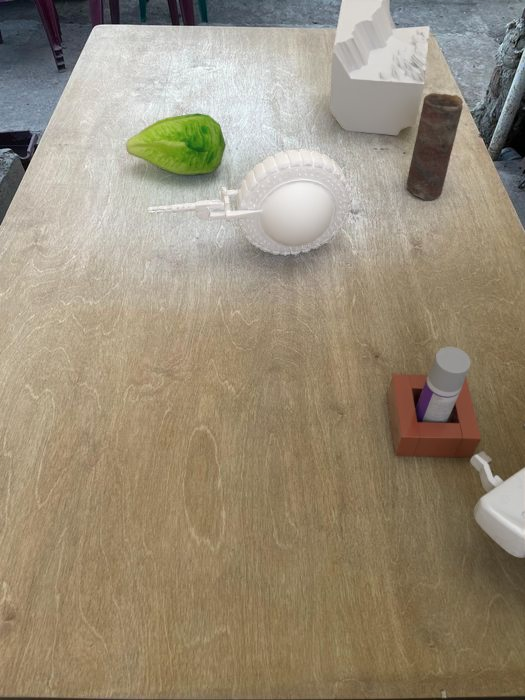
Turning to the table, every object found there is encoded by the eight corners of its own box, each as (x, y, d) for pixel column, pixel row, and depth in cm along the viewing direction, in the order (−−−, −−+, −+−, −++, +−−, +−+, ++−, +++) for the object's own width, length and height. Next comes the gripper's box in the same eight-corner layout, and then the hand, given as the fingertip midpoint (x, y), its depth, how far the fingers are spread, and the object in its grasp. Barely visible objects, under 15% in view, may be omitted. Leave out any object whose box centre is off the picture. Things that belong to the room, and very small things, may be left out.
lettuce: (135, 151, 136) (127, 99, 127) (227, 152, 137) (225, 100, 128) (127, 189, 127) (117, 136, 118) (225, 189, 128) (223, 137, 119)
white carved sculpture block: (420, 93, 150) (442, 1, 127) (414, 146, 144) (437, 61, 121) (336, 85, 152) (342, -6, 129) (327, 138, 147) (332, 52, 123)
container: (412, 408, 93) (435, 343, 82) (444, 414, 93) (471, 349, 81) (410, 434, 90) (434, 370, 79) (443, 440, 90) (471, 376, 78)
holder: (457, 395, 95) (466, 375, 91) (471, 457, 88) (481, 438, 84) (386, 394, 95) (392, 374, 91) (395, 456, 88) (401, 437, 84)
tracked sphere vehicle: (158, 290, 109) (143, 195, 93) (153, 237, 118) (139, 142, 103) (352, 269, 113) (368, 175, 98) (333, 220, 122) (345, 126, 107)
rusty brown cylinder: (398, 192, 128) (418, 99, 113) (413, 175, 132) (435, 84, 117) (432, 205, 126) (457, 112, 110) (447, 188, 130) (473, 96, 114)
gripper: (663, 468, 72) (566, 387, 79) (544, 562, 65) (450, 463, 72) (637, 494, 77) (548, 415, 84) (523, 584, 69) (437, 489, 77)
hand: (502, 437), depth 78 cm, fingers open, 8 cm apart
